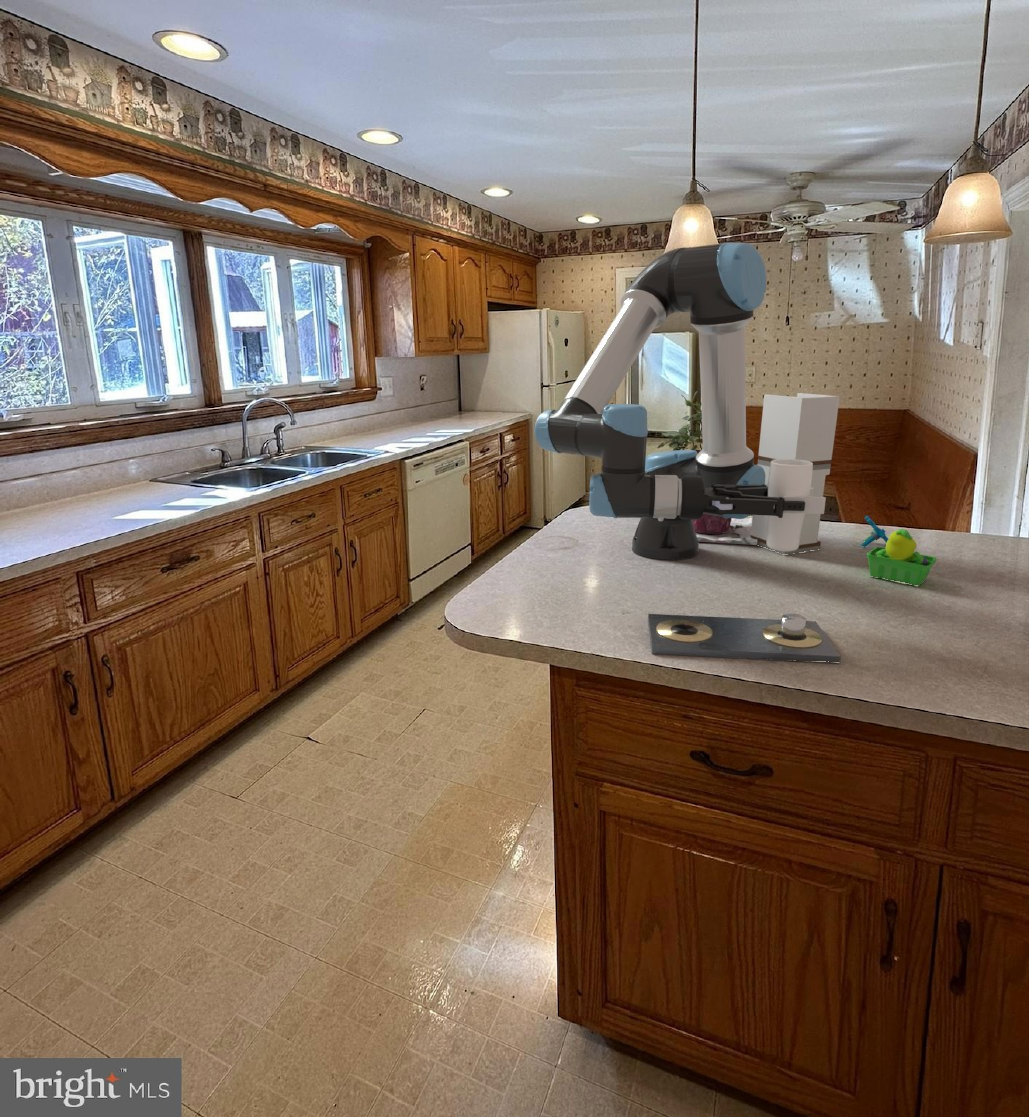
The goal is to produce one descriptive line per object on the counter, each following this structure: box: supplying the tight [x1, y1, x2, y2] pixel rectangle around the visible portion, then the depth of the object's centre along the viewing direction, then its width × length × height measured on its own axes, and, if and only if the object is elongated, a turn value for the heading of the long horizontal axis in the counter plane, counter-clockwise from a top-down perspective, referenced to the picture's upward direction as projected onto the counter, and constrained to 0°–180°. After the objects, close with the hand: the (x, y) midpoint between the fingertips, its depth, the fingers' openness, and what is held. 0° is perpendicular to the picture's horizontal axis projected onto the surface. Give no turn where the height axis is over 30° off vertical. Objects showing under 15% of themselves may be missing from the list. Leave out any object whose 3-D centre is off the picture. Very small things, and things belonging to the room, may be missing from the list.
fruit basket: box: [866, 528, 937, 586], centre depth 142 cm, size 11×9×11 cm
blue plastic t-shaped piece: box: [860, 515, 889, 547], centre depth 166 cm, size 11×6×10 cm
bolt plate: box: [647, 613, 842, 663], centre depth 115 cm, size 28×14×4 cm, turn 82°
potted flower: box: [656, 390, 757, 546], centre depth 177 cm, size 27×25×35 cm
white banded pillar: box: [750, 392, 840, 555], centre depth 162 cm, size 11×11×35 cm
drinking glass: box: [766, 459, 813, 551], centre depth 120 cm, size 7×7×15 cm
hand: (818, 500), depth 119 cm, fingers closed on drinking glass, 6 cm apart
